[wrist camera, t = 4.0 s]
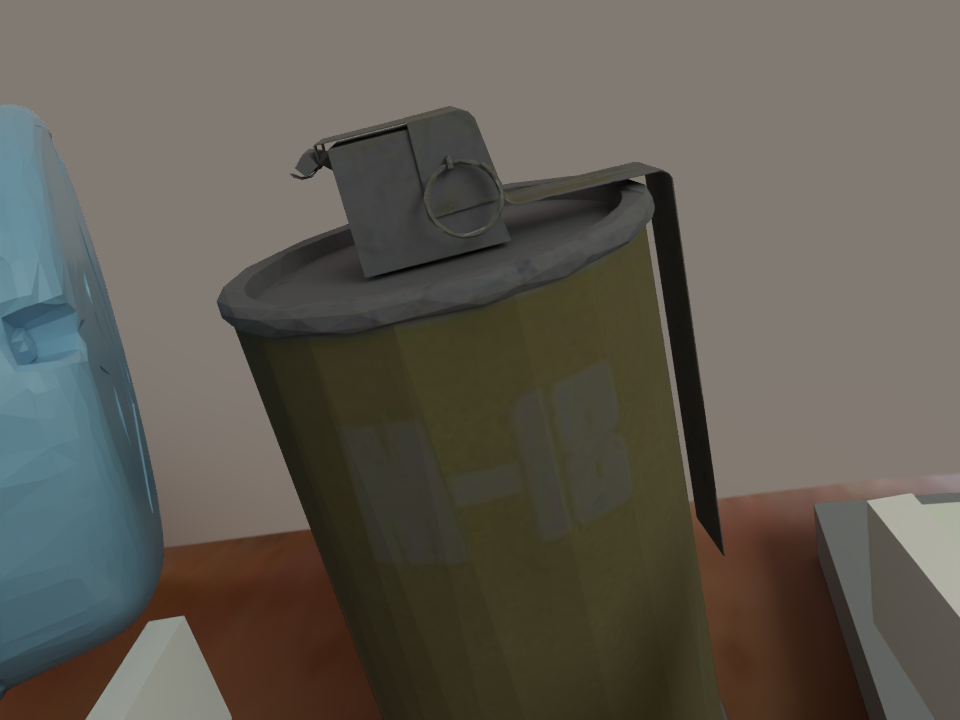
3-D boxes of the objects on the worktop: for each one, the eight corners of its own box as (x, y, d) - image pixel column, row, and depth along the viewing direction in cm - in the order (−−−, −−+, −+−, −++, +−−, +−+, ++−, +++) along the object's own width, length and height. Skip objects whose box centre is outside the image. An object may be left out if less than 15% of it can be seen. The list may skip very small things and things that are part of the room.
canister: (414, 973, 19) (93, 213, 12) (408, 675, 29) (227, 157, 22) (820, 862, 19) (738, 49, 12) (678, 603, 29) (587, 65, 22)
